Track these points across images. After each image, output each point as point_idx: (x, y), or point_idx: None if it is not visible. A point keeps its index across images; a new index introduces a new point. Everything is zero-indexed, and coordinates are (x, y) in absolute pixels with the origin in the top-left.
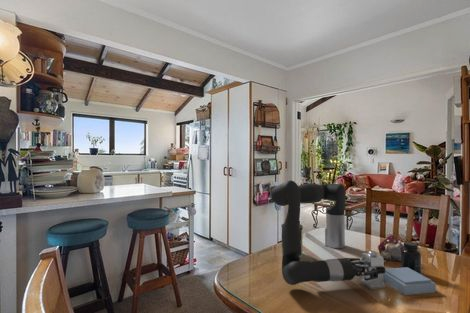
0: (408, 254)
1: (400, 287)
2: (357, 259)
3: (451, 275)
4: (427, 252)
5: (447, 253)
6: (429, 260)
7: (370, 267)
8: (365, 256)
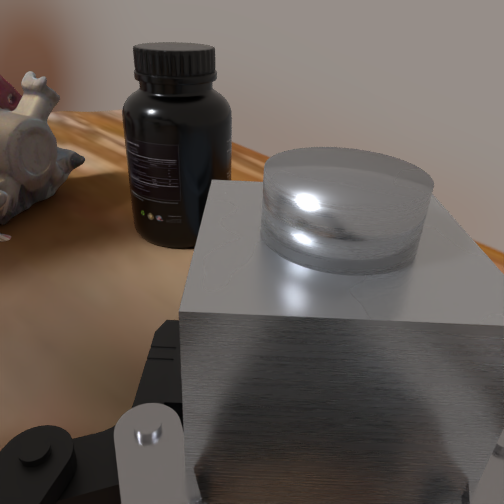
0: (201, 120)
1: None
2: (44, 495)
3: (248, 168)
4: (63, 126)
5: (105, 112)
6: (117, 148)
7: (499, 498)
8: (322, 349)
